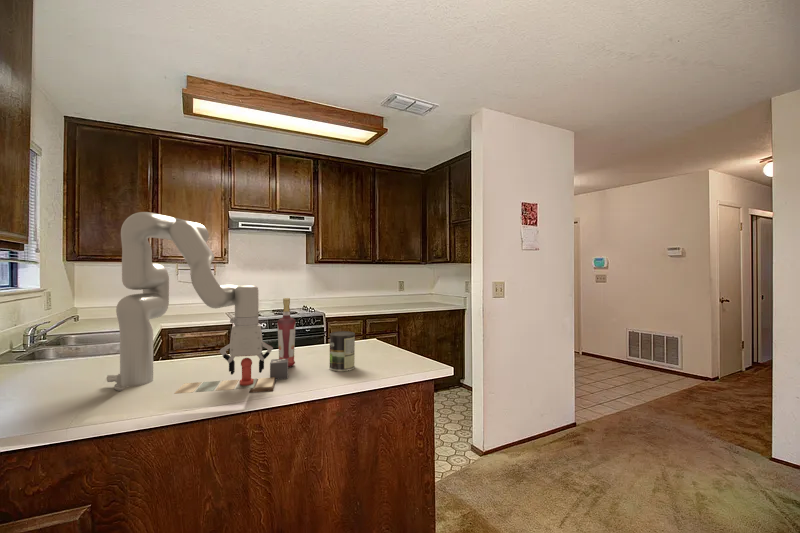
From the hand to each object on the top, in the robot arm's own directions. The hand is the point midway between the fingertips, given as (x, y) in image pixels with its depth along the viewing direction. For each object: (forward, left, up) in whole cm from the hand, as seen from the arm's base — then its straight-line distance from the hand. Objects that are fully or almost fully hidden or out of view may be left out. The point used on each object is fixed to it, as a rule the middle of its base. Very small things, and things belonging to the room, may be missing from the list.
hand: (246, 372), depth 131 cm
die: (+10, +10, -5) cm, 15 cm away
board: (-6, 0, -5) cm, 8 cm away
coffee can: (+34, +17, -5) cm, 38 cm away
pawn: (0, 0, -4) cm, 4 cm away
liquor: (+12, +25, -5) cm, 28 cm away
